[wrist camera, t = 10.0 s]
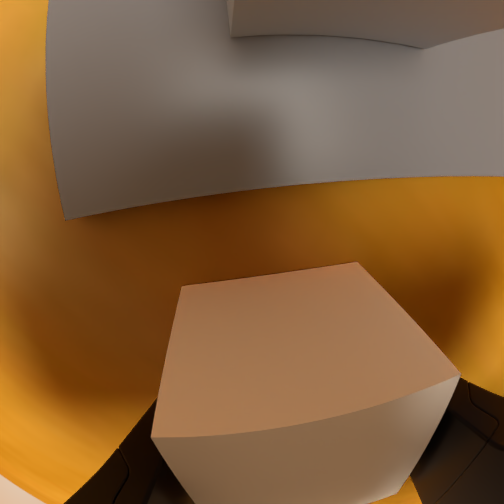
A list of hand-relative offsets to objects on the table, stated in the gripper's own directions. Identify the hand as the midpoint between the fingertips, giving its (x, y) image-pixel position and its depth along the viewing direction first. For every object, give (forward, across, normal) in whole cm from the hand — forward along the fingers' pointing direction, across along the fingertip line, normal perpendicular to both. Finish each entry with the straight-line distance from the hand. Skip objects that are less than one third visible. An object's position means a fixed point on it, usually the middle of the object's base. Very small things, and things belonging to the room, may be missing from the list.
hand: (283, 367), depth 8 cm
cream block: (+1, 0, 0) cm, 1 cm away
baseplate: (+1, -2, -11) cm, 11 cm away
